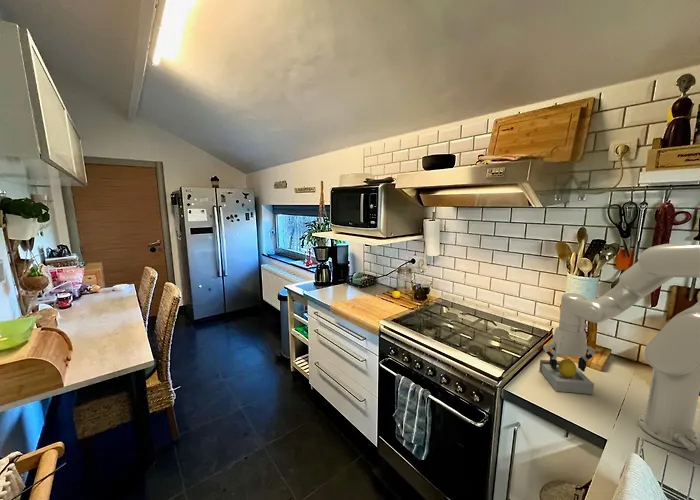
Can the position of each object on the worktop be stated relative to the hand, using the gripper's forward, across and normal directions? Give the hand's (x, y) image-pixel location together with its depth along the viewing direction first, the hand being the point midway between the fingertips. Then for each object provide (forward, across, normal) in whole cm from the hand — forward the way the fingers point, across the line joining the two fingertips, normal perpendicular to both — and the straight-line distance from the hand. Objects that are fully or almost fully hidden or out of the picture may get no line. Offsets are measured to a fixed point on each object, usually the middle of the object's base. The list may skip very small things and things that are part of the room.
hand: (567, 368), depth 112 cm
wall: (+6, 0, -7) cm, 9 cm away
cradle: (+6, 0, 0) cm, 6 cm away
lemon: (+4, 0, 0) cm, 4 cm away
